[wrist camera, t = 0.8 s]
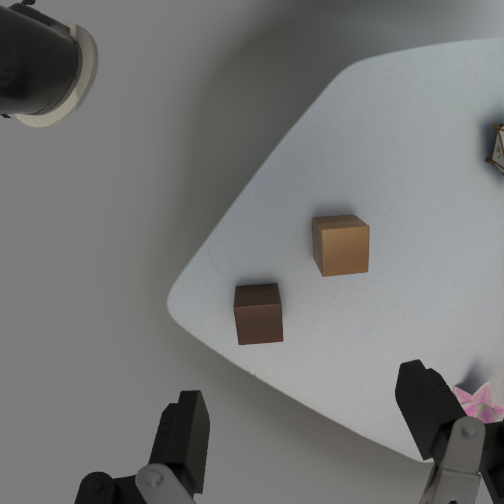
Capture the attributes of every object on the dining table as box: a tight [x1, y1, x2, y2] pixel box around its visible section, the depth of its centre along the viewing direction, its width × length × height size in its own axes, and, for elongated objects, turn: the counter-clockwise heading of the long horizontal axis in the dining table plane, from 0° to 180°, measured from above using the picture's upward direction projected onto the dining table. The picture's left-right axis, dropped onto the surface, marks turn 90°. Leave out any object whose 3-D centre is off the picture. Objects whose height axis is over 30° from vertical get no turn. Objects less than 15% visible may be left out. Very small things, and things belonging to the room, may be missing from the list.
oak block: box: [312, 215, 369, 277], centre depth 27 cm, size 4×4×4 cm
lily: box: [454, 382, 504, 423], centre depth 33 cm, size 12×12×10 cm
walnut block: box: [234, 283, 283, 345], centre depth 29 cm, size 4×4×4 cm
